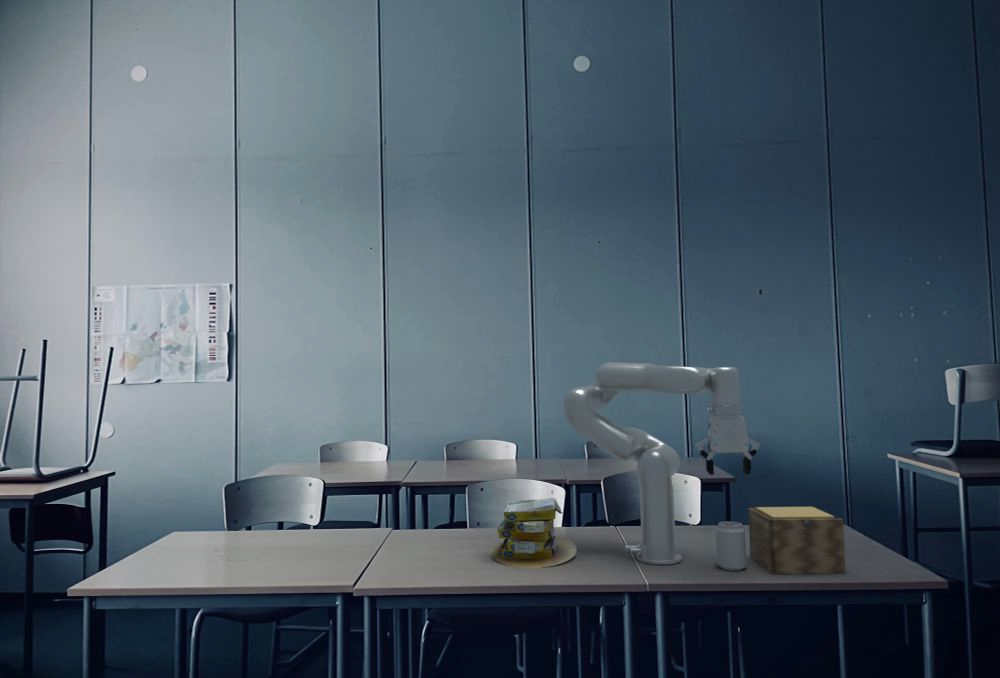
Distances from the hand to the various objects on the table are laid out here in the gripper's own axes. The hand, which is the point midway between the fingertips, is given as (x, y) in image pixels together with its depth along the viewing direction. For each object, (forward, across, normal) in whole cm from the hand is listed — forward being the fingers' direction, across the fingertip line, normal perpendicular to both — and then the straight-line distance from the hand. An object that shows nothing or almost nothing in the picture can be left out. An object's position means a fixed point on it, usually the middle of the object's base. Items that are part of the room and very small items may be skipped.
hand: (728, 474), depth 186 cm
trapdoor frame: (+25, +18, +2) cm, 31 cm away
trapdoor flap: (+12, +18, +2) cm, 21 cm away
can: (+26, 0, 0) cm, 26 cm away
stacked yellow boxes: (+25, -54, +14) cm, 61 cm away
